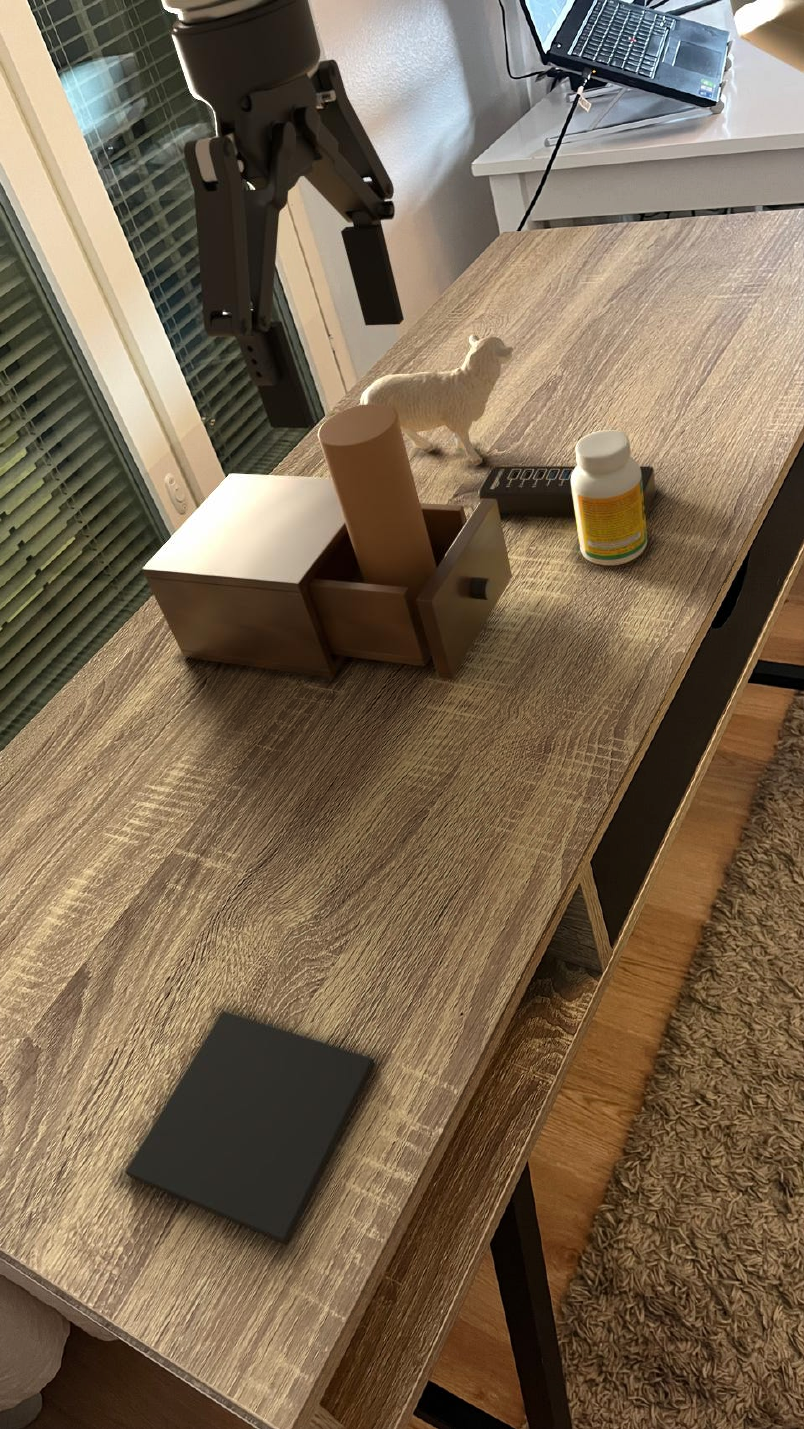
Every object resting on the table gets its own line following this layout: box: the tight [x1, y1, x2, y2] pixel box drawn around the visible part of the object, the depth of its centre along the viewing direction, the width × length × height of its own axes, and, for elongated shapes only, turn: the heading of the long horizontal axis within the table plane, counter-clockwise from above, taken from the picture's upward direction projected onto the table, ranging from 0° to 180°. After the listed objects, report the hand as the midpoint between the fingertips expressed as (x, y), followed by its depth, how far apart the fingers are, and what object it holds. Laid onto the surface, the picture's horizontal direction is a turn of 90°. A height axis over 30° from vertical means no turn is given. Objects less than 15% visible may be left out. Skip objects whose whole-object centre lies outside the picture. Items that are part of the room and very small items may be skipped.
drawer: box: [306, 499, 513, 680], centre depth 82 cm, size 15×12×7 cm
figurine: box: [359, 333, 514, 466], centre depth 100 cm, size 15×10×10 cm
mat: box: [125, 1010, 376, 1245], centre depth 57 cm, size 10×10×1 cm
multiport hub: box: [477, 465, 657, 518], centre depth 92 cm, size 4×14×2 cm, turn 68°
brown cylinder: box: [317, 404, 437, 627], centre depth 79 cm, size 6×6×16 cm
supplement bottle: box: [571, 429, 648, 566], centre depth 83 cm, size 5×5×10 cm
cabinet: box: [141, 473, 348, 679], centre depth 87 cm, size 15×14×9 cm
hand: (341, 371), depth 71 cm, fingers open, 13 cm apart
